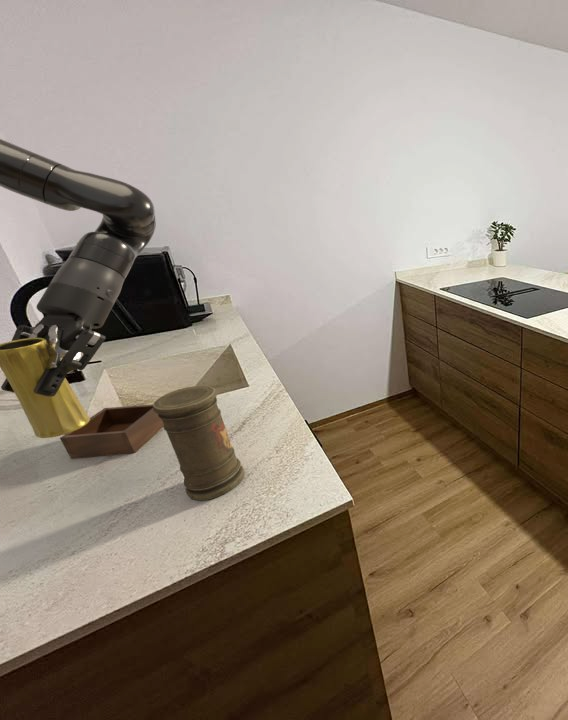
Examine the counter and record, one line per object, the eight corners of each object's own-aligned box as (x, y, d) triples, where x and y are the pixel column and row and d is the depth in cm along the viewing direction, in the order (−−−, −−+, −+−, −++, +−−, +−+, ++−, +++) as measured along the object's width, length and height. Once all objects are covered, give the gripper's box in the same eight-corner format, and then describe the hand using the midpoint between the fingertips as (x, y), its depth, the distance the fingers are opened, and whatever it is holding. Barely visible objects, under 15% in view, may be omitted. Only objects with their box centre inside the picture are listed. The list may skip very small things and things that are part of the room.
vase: (81, 432, 58) (36, 347, 52) (26, 443, 56) (-27, 354, 50) (97, 413, 63) (57, 333, 57) (47, 422, 61) (1, 340, 55)
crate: (70, 458, 75) (59, 438, 73) (113, 426, 86) (104, 407, 84) (134, 452, 77) (125, 432, 75) (169, 422, 87) (161, 403, 85)
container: (203, 507, 63) (166, 416, 56) (176, 489, 67) (139, 401, 60) (255, 476, 70) (228, 391, 63) (228, 461, 74) (200, 379, 67)
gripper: (19, 279, 58) (-47, 381, 52) (95, 281, 56) (34, 389, 50) (74, 303, 65) (20, 396, 59) (143, 306, 63) (94, 404, 57)
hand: (27, 392), depth 55 cm, fingers closed on vase, 5 cm apart
